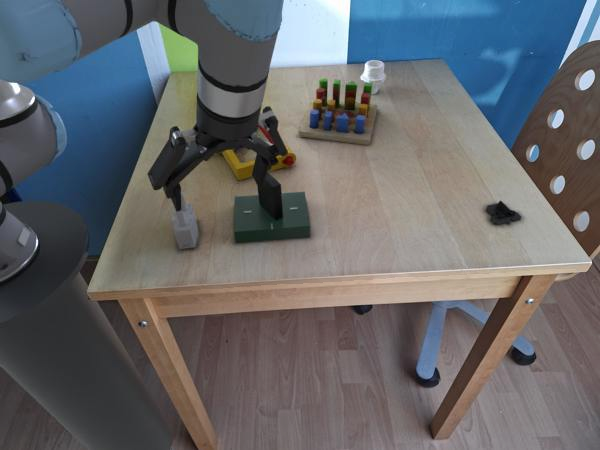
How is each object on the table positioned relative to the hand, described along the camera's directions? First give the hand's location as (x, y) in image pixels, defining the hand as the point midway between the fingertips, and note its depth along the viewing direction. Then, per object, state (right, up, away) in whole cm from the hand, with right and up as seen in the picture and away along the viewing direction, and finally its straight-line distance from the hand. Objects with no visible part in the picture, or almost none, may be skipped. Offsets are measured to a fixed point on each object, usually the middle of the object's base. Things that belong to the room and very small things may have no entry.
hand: (218, 191), depth 67 cm
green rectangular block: (+7, -5, +16) cm, 18 cm away
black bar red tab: (+7, -3, +14) cm, 16 cm away
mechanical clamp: (-2, +14, +36) cm, 38 cm away
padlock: (-8, -7, +14) cm, 18 cm away
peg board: (+23, +21, +42) cm, 52 cm away
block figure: (+53, -3, +16) cm, 55 cm away
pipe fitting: (+34, +33, +54) cm, 72 cm away
